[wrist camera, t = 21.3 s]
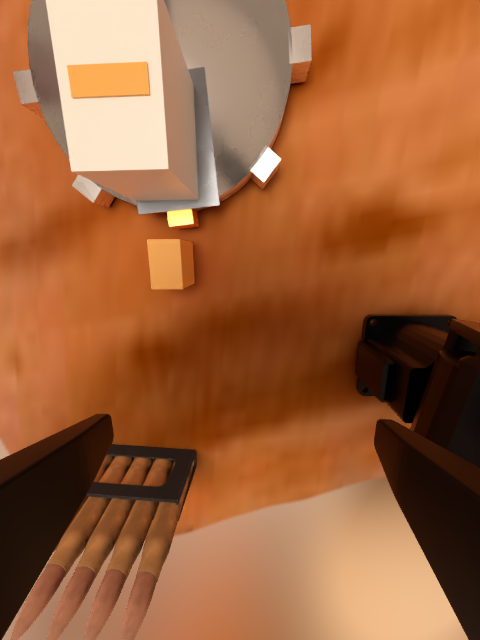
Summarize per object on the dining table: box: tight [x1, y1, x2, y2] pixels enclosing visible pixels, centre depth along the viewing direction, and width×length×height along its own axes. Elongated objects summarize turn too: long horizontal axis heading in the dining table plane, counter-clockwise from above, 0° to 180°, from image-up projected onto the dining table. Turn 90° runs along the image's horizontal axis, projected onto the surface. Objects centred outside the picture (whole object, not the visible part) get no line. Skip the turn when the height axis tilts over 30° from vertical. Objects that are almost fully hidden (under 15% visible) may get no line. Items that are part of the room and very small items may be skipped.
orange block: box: [147, 239, 195, 289], centre depth 18 cm, size 2×3×4 cm, turn 1°
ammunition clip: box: [10, 444, 196, 640], centre depth 18 cm, size 11×2×12 cm, turn 88°
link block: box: [46, 0, 199, 201], centre depth 13 cm, size 4×6×6 cm, turn 0°
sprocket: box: [13, 0, 312, 229], centre depth 14 cm, size 17×17×4 cm
